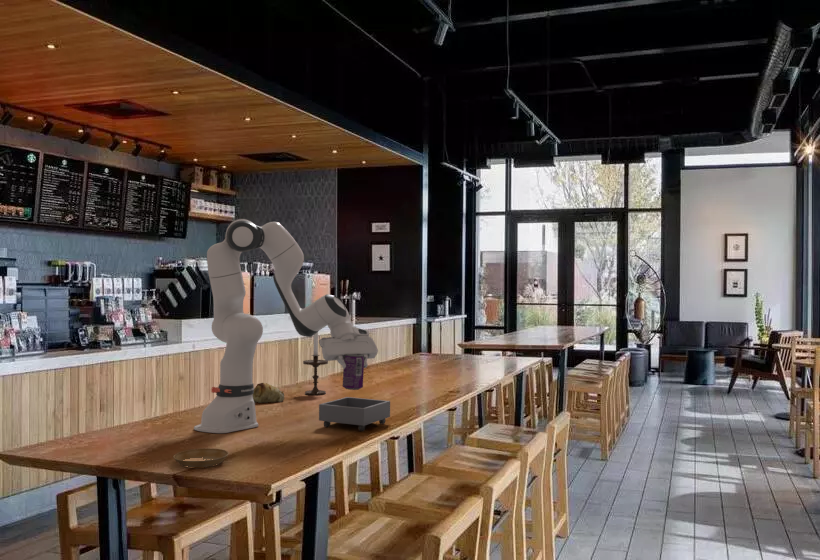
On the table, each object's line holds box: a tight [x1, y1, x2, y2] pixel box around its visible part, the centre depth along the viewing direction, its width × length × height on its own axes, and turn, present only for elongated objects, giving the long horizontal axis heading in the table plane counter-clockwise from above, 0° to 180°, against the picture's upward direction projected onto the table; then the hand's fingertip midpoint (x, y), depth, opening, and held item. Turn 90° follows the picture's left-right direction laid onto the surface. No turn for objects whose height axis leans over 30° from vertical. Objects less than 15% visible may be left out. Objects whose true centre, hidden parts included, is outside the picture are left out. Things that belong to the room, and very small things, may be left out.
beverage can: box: [342, 354, 365, 391], centre depth 260 cm, size 7×7×12 cm
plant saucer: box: [173, 447, 229, 468], centre depth 207 cm, size 15×15×3 cm
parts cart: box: [318, 396, 391, 432], centre depth 260 cm, size 18×18×8 cm
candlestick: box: [302, 331, 329, 396], centre depth 329 cm, size 11×11×35 cm
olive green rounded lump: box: [253, 382, 285, 404], centre depth 310 cm, size 14×12×8 cm
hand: (355, 367), depth 260 cm, fingers closed on beverage can, 6 cm apart
